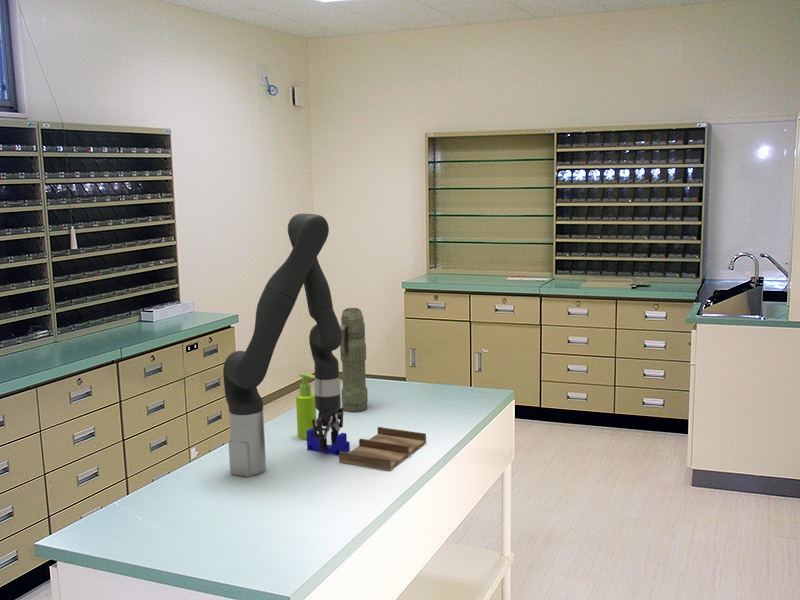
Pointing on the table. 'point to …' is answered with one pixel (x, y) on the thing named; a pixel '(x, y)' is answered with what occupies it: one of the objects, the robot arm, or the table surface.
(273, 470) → the table surface
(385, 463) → the rack
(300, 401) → the soap dispenser
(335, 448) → the blue cradle stand
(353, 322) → the thermos
